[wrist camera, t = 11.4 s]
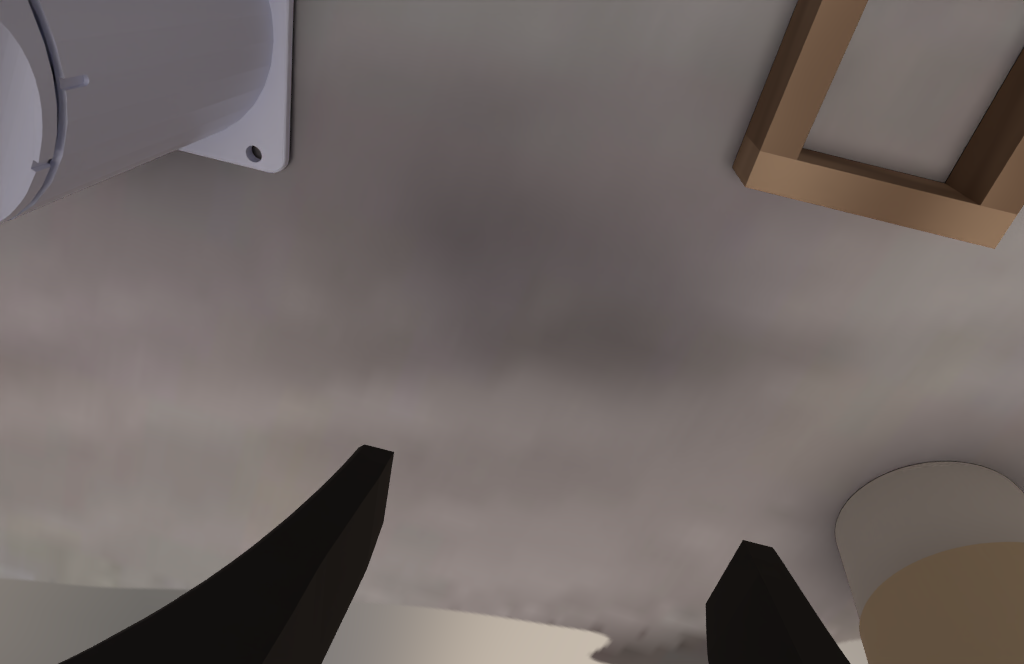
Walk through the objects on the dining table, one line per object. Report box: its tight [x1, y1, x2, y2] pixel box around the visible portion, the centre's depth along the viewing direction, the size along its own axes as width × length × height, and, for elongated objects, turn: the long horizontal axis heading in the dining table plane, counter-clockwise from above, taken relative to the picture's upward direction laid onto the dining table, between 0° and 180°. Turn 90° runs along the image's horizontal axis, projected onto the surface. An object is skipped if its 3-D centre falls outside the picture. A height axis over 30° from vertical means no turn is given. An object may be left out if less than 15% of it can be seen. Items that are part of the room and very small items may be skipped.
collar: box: [732, 0, 1024, 249], centre depth 16 cm, size 7×7×2 cm
